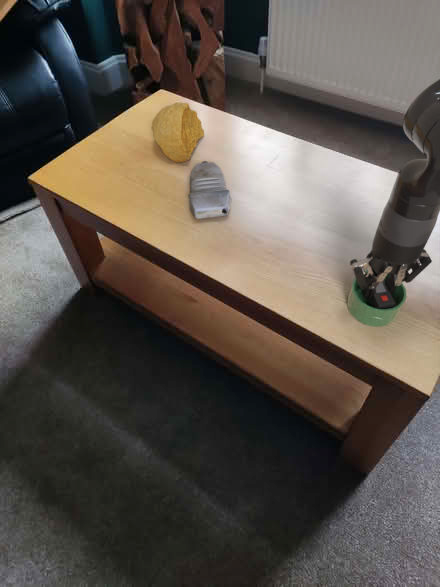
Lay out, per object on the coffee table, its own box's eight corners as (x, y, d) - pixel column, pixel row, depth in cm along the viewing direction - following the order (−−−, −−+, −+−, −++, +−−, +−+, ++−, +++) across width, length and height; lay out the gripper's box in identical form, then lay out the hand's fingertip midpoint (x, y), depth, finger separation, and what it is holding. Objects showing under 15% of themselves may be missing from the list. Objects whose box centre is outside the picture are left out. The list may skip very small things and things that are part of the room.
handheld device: (223, 165, 110) (223, 150, 106) (233, 219, 97) (233, 204, 94) (186, 169, 109) (184, 154, 106) (191, 224, 97) (189, 208, 93)
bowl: (387, 283, 84) (394, 266, 80) (406, 322, 79) (415, 306, 75) (340, 290, 84) (345, 273, 80) (356, 330, 78) (362, 314, 74)
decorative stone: (132, 143, 113) (152, 116, 100) (162, 109, 119) (185, 78, 106) (169, 178, 117) (194, 156, 104) (197, 143, 123) (223, 117, 110)
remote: (361, 283, 81) (364, 274, 79) (377, 281, 81) (380, 272, 79) (375, 313, 77) (379, 304, 75) (391, 311, 77) (395, 302, 75)
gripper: (368, 251, 62) (346, 318, 76) (461, 238, 63) (422, 306, 77) (351, 216, 67) (333, 285, 81) (437, 204, 68) (405, 275, 81)
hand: (376, 295), depth 79 cm, fingers closed on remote, 3 cm apart
